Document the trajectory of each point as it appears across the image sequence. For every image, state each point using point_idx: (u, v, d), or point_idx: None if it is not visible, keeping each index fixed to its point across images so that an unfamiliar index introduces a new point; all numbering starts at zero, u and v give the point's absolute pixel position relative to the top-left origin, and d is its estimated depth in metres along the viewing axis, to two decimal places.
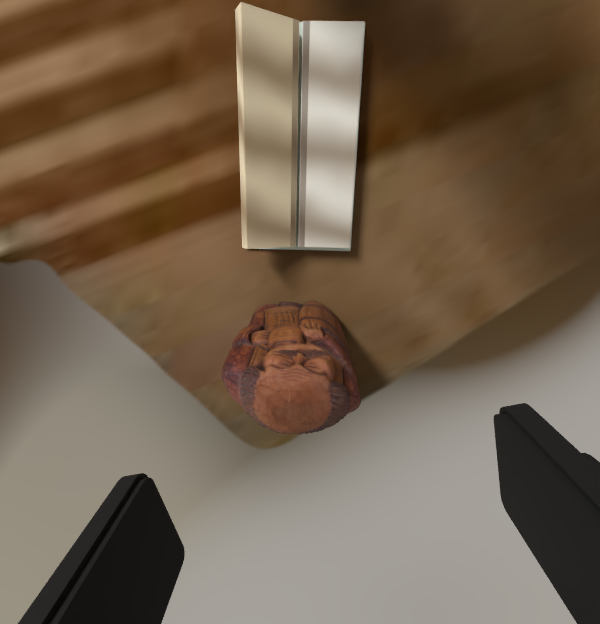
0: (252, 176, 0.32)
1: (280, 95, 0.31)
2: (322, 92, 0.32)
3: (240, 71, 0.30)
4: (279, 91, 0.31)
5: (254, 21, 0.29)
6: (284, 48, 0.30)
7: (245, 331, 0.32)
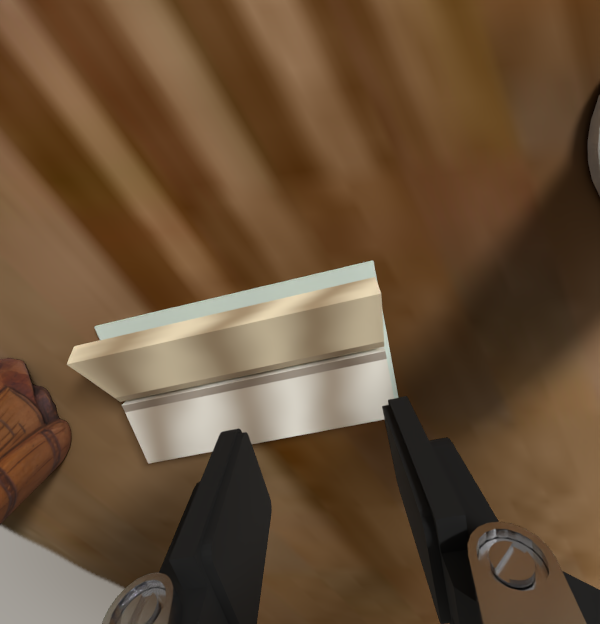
0: (171, 348, 0.21)
1: (292, 350, 0.23)
2: (313, 391, 0.25)
3: (300, 304, 0.20)
4: (296, 348, 0.23)
5: (364, 310, 0.20)
6: (347, 341, 0.23)
7: None
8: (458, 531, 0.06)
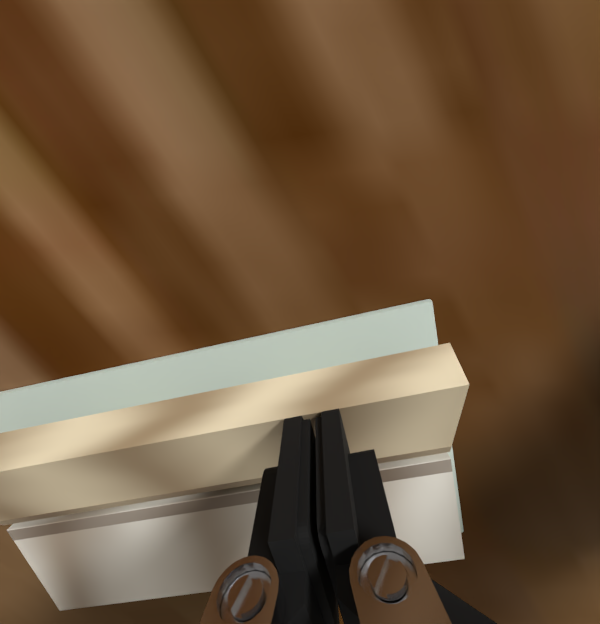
0: (54, 471, 0.11)
1: None
2: None
3: (298, 398, 0.10)
4: None
5: (428, 409, 0.10)
6: (386, 449, 0.12)
7: None
8: (349, 545, 0.06)
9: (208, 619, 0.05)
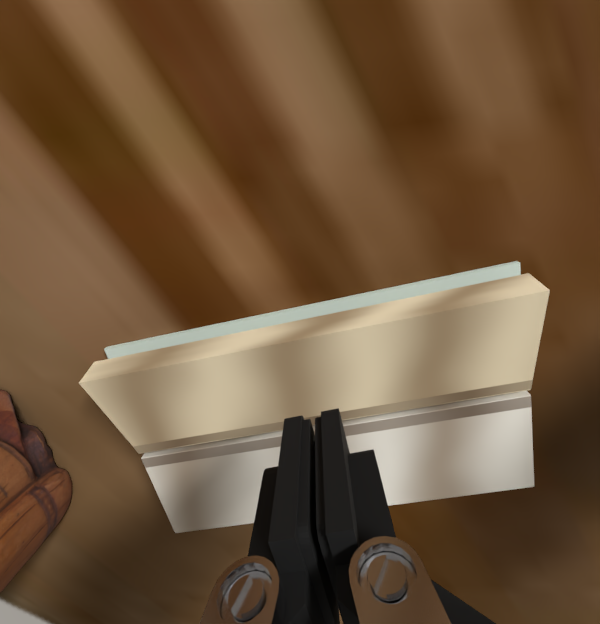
0: (225, 367, 0.15)
1: (395, 385, 0.16)
2: (415, 448, 0.17)
3: (418, 307, 0.14)
4: (400, 381, 0.15)
5: (517, 320, 0.14)
6: (478, 375, 0.15)
7: None
8: (349, 545, 0.06)
9: (208, 619, 0.05)
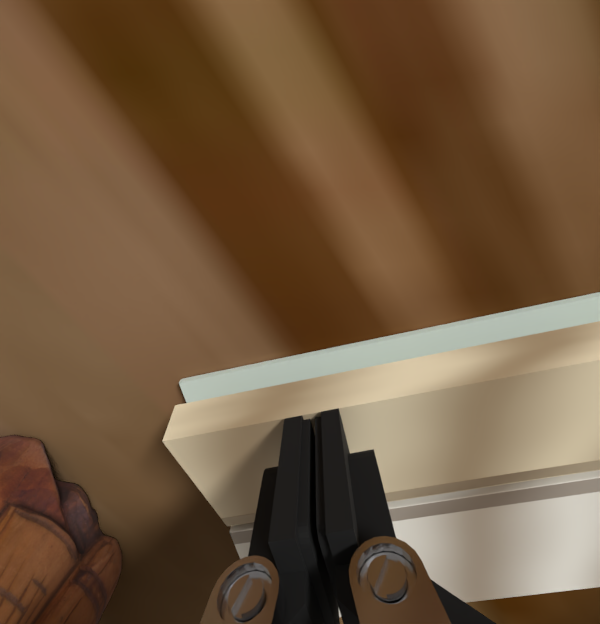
0: (387, 415, 0.10)
1: None
2: None
3: None
4: None
5: None
6: None
7: None
8: (348, 545, 0.06)
9: (208, 619, 0.05)
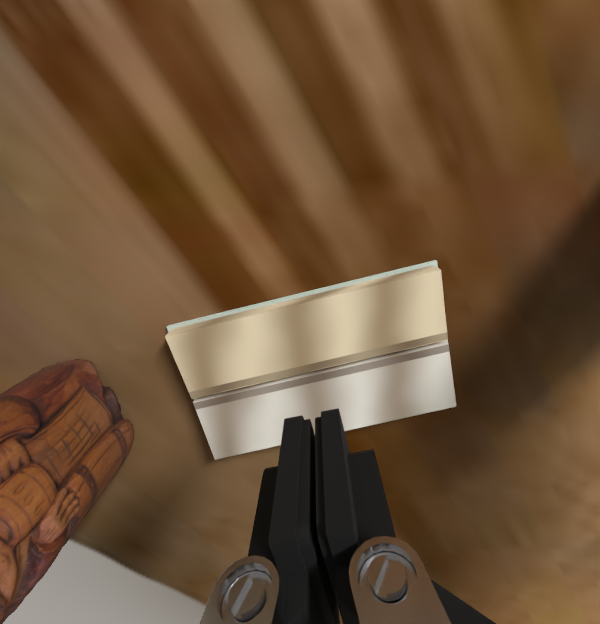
0: (258, 323, 0.24)
1: (363, 336, 0.25)
2: (379, 383, 0.26)
3: (371, 283, 0.24)
4: (366, 334, 0.25)
5: (427, 289, 0.24)
6: (413, 329, 0.25)
7: (6, 426, 0.19)
8: (348, 545, 0.06)
9: (209, 619, 0.05)
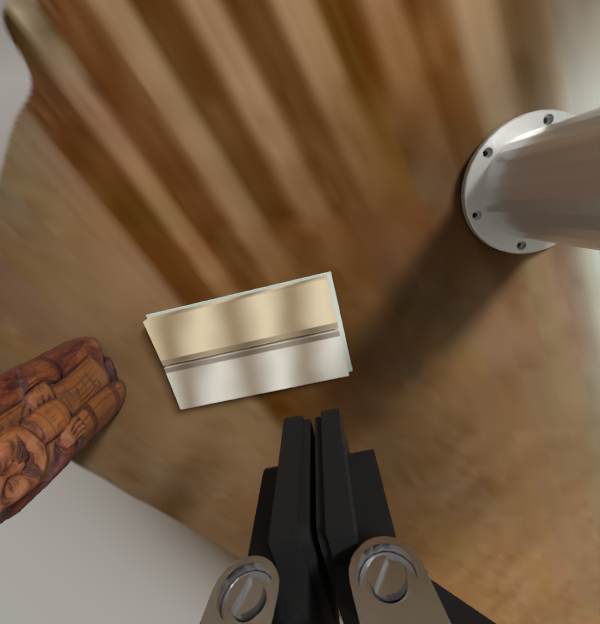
0: (205, 314, 0.36)
1: (278, 324, 0.36)
2: (292, 358, 0.37)
3: (282, 288, 0.35)
4: (280, 322, 0.36)
5: (319, 292, 0.35)
6: (312, 319, 0.36)
7: (40, 374, 0.31)
8: (348, 545, 0.06)
9: (208, 619, 0.05)
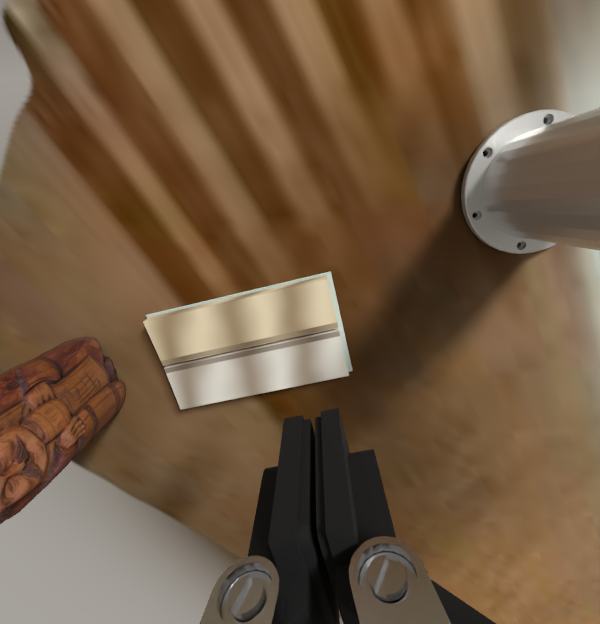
0: (205, 314, 0.36)
1: (278, 324, 0.36)
2: (292, 358, 0.37)
3: (282, 288, 0.35)
4: (280, 322, 0.36)
5: (319, 292, 0.35)
6: (312, 319, 0.36)
7: (40, 374, 0.31)
8: (348, 545, 0.06)
9: (208, 619, 0.05)
